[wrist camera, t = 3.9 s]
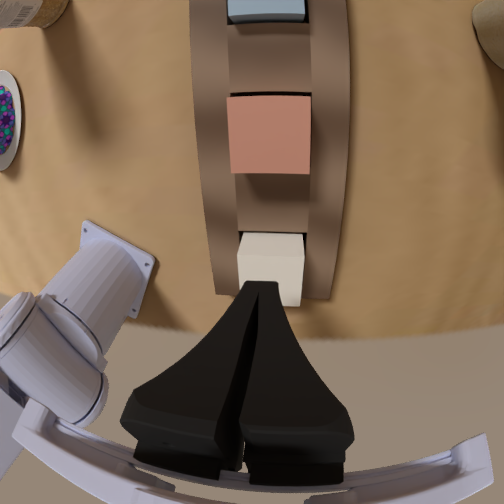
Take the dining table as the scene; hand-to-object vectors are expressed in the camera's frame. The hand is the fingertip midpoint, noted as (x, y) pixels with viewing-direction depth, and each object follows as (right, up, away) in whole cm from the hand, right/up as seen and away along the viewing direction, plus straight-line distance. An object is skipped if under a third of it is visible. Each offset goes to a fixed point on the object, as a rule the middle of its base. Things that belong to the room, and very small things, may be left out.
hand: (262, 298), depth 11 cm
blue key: (+1, +18, 0) cm, 18 cm away
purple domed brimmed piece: (-28, +17, +5) cm, 33 cm away
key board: (+1, +10, +5) cm, 11 cm away
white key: (+1, +2, +8) cm, 8 cm away
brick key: (+1, +9, +3) cm, 10 cm away
